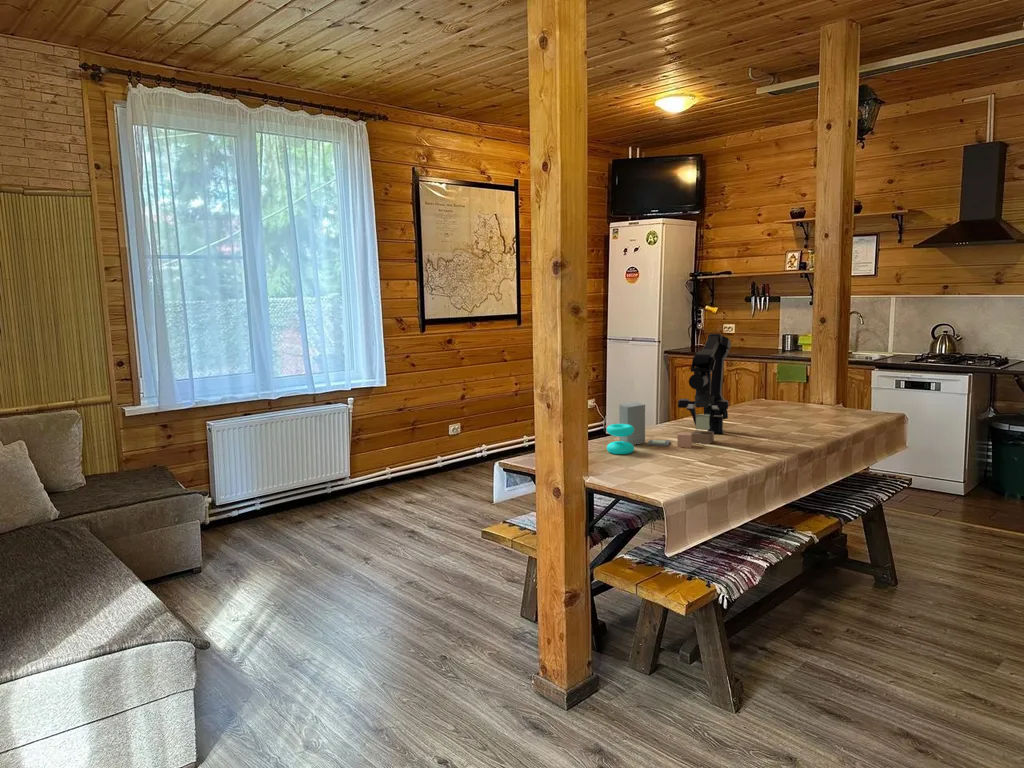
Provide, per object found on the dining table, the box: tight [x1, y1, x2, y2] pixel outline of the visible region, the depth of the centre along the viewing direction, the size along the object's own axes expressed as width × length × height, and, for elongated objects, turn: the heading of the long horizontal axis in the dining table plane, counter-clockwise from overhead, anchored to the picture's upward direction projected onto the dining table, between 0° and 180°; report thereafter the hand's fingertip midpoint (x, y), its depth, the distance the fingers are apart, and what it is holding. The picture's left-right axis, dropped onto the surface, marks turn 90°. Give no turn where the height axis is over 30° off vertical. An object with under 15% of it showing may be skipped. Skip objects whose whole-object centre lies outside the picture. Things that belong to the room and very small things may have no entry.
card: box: [646, 439, 671, 447], centre depth 275 cm, size 8×8×1 cm
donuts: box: [606, 423, 635, 455], centre depth 262 cm, size 10×10×10 cm
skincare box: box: [618, 401, 646, 446], centre depth 275 cm, size 8×7×16 cm
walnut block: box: [691, 429, 715, 445], centre depth 276 cm, size 7×7×4 cm
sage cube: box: [695, 413, 710, 431], centre depth 275 cm, size 5×5×5 cm
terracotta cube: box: [676, 431, 693, 449], centre depth 269 cm, size 5×5×5 cm
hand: (702, 425), depth 275 cm, fingers closed on sage cube, 5 cm apart
